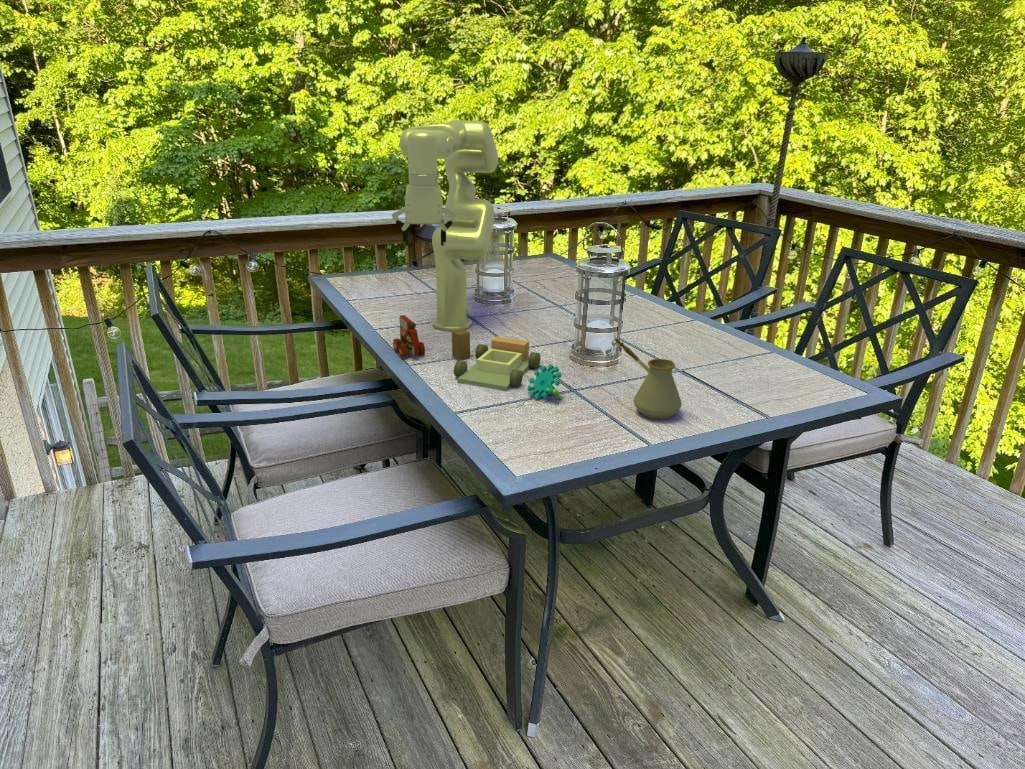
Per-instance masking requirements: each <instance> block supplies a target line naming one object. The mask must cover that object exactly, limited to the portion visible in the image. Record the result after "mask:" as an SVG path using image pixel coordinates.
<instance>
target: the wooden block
mask: <svg viewBox="0 0 1025 769" xmlns="http://www.w3.org/2000/svg"><path fill="white" fill-rule="evenodd" d="M451 352H452V354H451V356H452V357H453V358H455V359H456V360H457V361H458V360H460V361H464V360H466V359H467V360H468V359H470V358H471V333H470V331H468V329H458V330H453V331H451Z"/></svg>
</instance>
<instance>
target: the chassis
mask: <svg viewBox="0 0 1025 769" xmlns="http://www.w3.org/2000/svg"><path fill="white" fill-rule="evenodd" d="M529 353H530V354H529ZM475 359H476V363H474V364H473V365H472V366H471V367H469V369H468V362H467V361H465V360H457V361H455V362H454V363H455V364H454V365H453V375H454V377H457V383H458V384H465V385H471V386H475V385H476V387H480V388H481V387H482V388H487V389H494V390H498V389H499V390H500V391H504V392H508V391H509V390H510V388H511V387H515V388H520V387H521V386H522V383H523V376H524V375H525V374H526V373H527V372H528V371H529V370H530V369H535V370H537V369H538V368H539V367H540V365H541V364H540V363H541V359H542V358H541V353H540V352H535V351H531V352H530V341H529V340H522V339H515V338H509V337H503V336H497V335H496V336H495V337H494V338H492V339H491V348H488V345H487V344H482V343H478V344H477V345H476V347H475ZM529 368H530V369H529ZM528 369H529V370H528ZM527 370H528V371H527ZM526 371H527V372H526ZM519 386H520V387H519Z"/></svg>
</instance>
